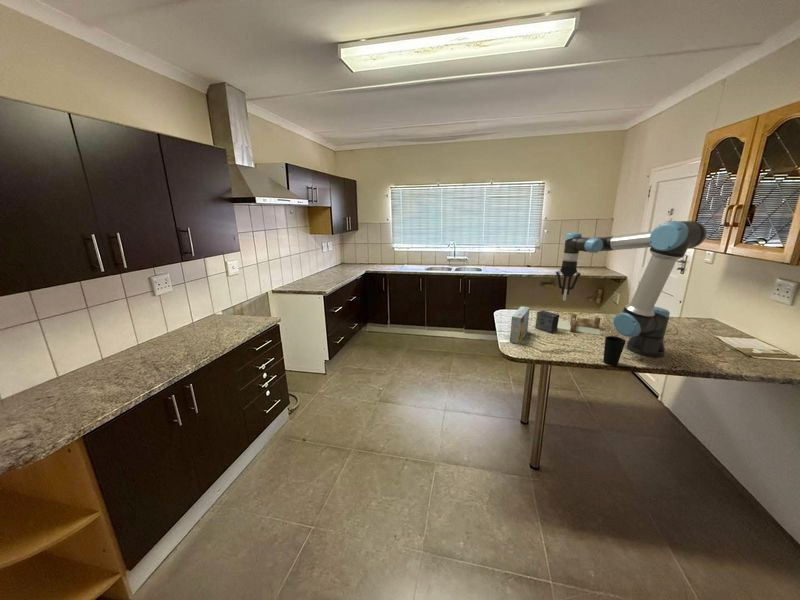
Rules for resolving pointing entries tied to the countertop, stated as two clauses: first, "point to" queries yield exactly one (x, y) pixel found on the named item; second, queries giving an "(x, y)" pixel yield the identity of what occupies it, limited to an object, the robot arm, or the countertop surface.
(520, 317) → the snack box
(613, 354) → the cup
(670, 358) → the countertop surface
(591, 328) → the card
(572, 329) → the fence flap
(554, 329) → the small box
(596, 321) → the fence fixed
